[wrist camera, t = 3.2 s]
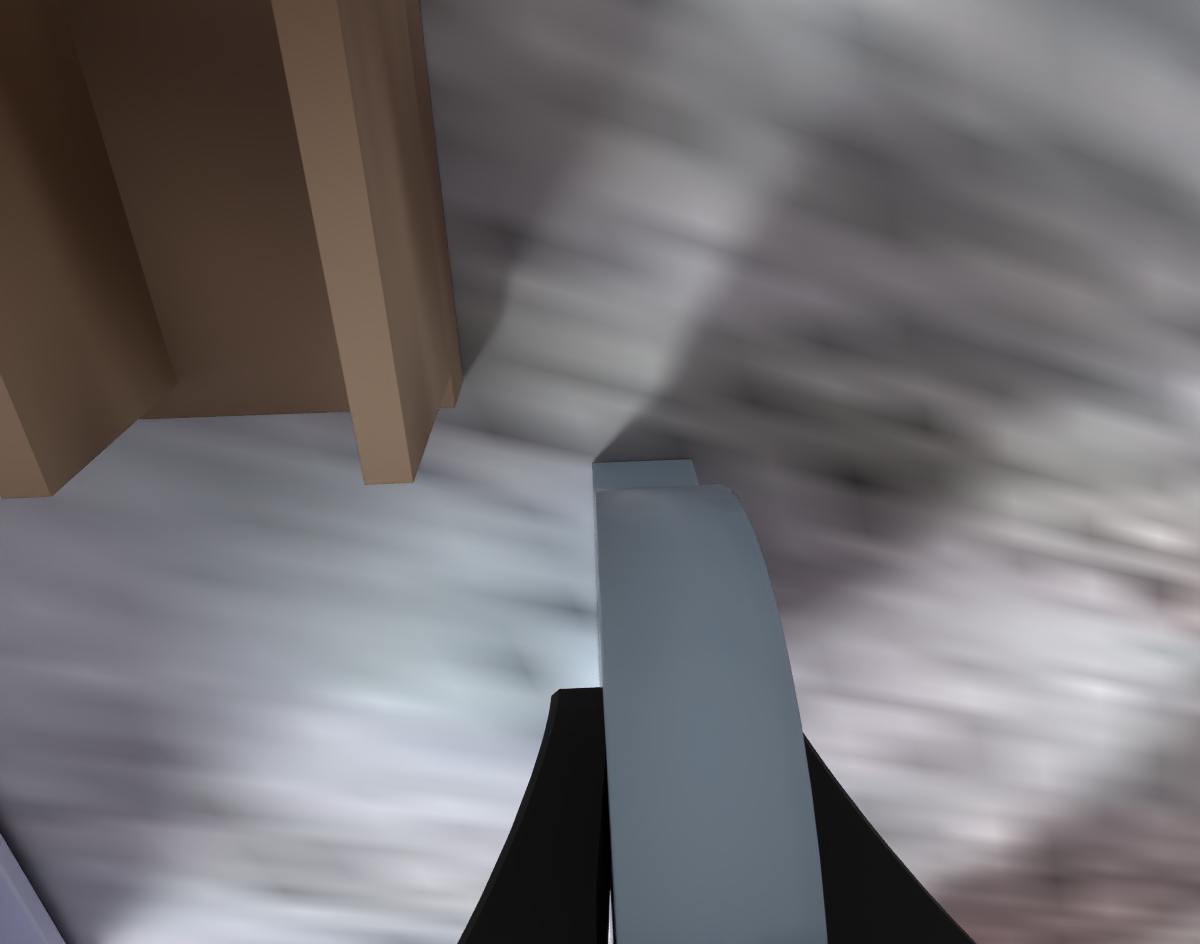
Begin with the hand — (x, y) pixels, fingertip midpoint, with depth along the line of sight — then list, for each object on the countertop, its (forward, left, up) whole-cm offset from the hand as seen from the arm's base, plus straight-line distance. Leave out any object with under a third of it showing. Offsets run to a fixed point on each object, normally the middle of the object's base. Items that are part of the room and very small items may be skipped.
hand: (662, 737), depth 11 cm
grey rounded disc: (0, 0, -3) cm, 3 cm away
